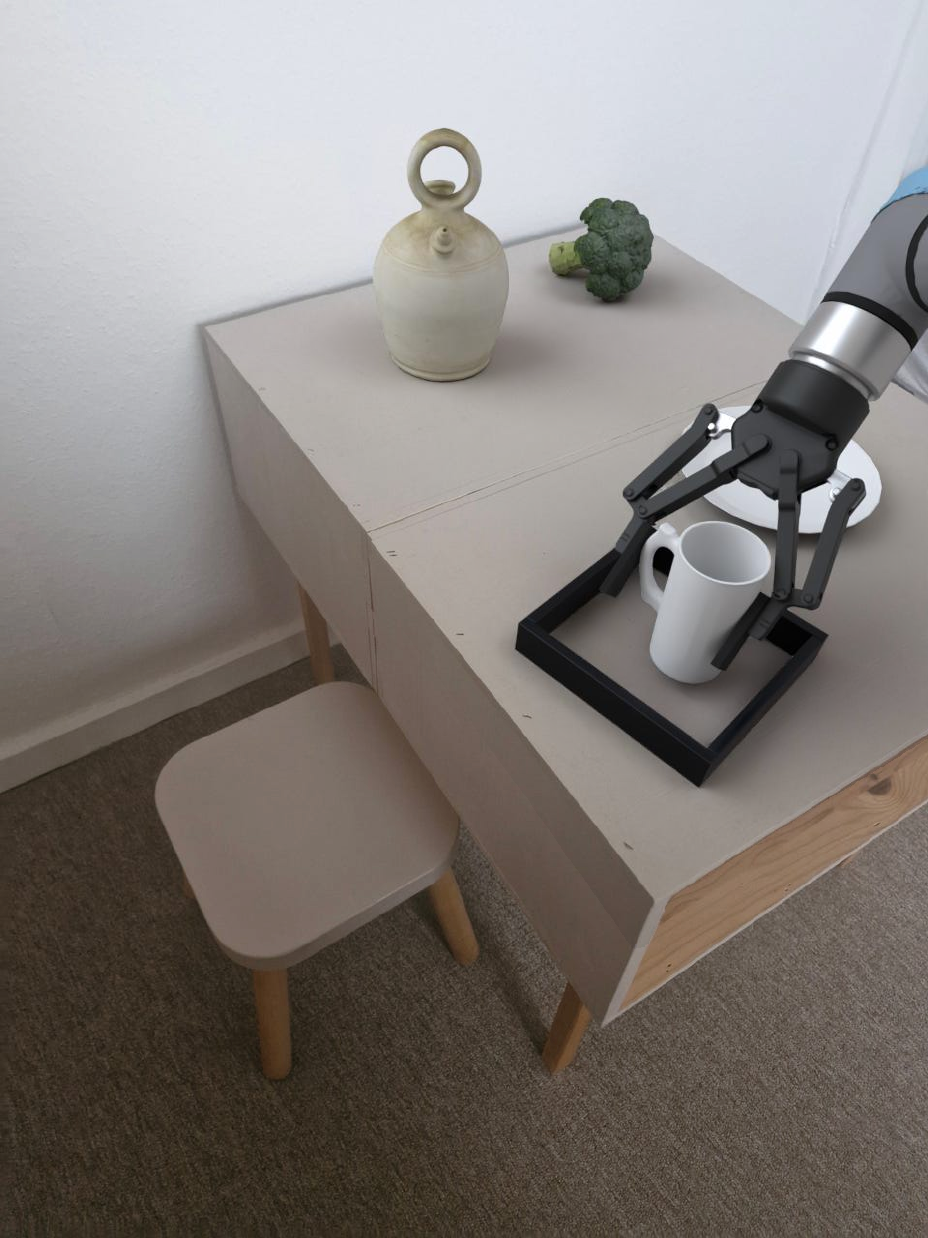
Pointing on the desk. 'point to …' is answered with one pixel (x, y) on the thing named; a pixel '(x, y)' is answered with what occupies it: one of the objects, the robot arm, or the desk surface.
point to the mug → (700, 593)
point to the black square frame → (629, 709)
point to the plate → (765, 510)
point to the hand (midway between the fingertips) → (660, 629)
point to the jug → (441, 274)
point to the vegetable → (608, 248)
